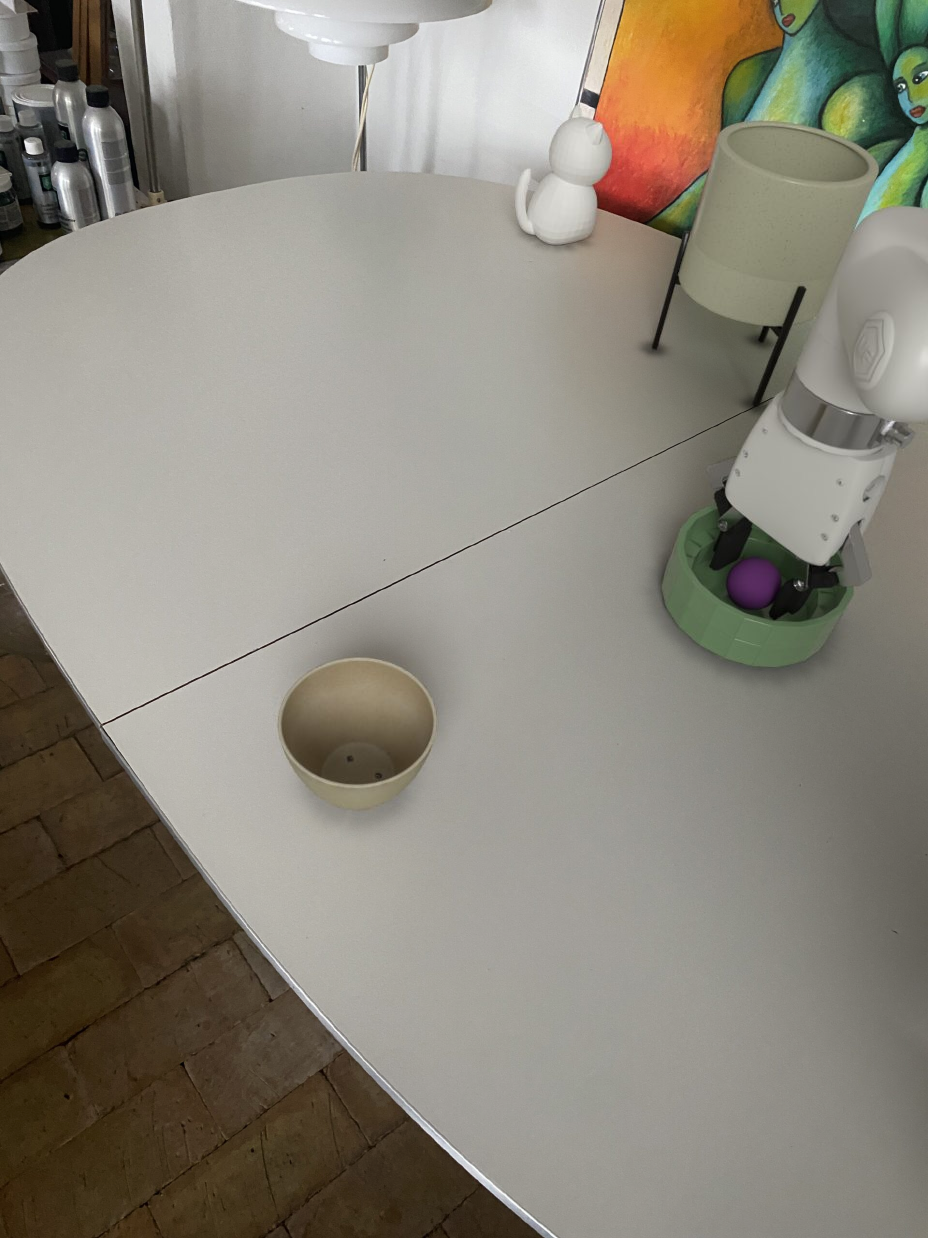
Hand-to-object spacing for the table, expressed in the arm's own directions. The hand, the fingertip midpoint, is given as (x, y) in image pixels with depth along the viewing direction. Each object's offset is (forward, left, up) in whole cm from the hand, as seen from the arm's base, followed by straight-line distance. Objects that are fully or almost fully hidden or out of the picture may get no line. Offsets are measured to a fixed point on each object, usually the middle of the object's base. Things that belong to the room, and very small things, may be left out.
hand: (752, 585), depth 73 cm
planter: (+27, -27, -3) cm, 38 cm away
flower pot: (+4, +36, -3) cm, 36 cm away
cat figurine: (+60, -30, -3) cm, 67 cm away
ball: (0, 0, -2) cm, 2 cm away
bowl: (0, 0, -3) cm, 3 cm away
